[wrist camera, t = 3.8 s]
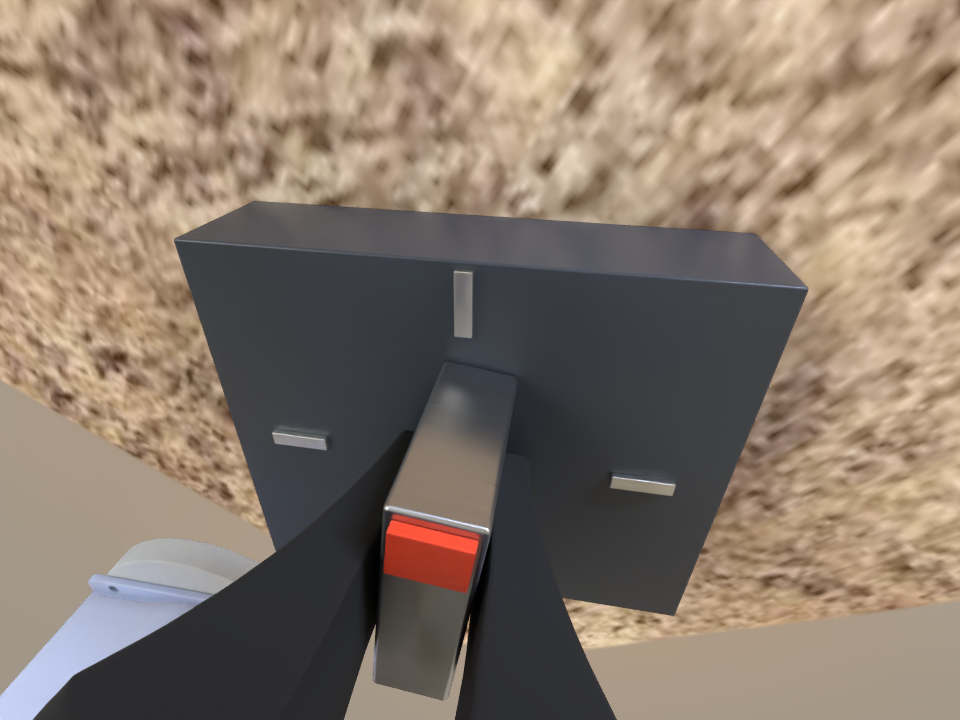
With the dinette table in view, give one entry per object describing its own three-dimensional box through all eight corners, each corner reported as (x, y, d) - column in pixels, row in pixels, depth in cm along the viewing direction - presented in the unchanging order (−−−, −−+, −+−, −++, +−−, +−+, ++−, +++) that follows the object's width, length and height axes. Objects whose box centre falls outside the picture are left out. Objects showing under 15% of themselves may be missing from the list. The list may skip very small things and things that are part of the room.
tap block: (317, 481, 18) (272, 556, 15) (253, 200, 12) (166, 241, 10) (659, 529, 16) (675, 622, 14) (756, 232, 11) (814, 291, 8)
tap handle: (479, 538, 13) (444, 717, 10) (421, 525, 13) (366, 696, 10) (518, 375, 10) (488, 548, 7) (444, 359, 10) (376, 520, 7)
